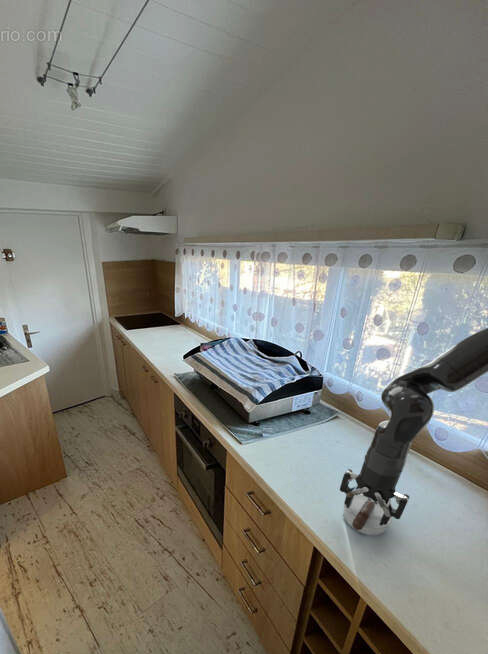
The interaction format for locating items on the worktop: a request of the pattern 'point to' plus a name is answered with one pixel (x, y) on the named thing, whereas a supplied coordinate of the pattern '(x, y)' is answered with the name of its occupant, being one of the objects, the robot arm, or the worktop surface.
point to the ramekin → (373, 520)
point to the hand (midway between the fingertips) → (364, 514)
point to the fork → (364, 514)
